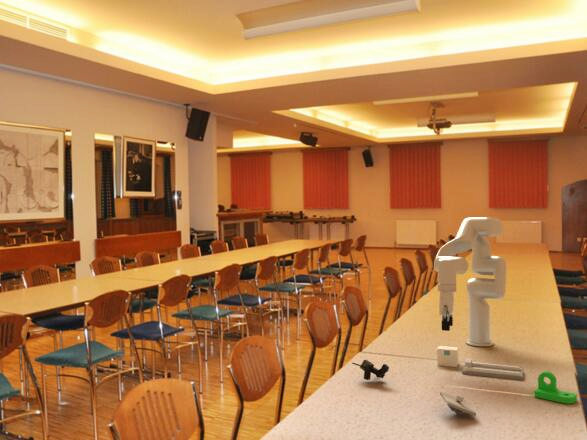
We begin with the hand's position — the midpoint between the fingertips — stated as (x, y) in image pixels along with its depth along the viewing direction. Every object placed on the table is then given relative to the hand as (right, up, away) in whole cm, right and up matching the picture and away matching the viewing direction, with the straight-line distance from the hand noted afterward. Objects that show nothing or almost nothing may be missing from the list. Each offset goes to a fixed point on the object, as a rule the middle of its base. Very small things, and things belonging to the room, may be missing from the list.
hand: (447, 328), depth 220 cm
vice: (-31, -14, -23) cm, 41 cm away
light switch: (-14, -16, -46) cm, 51 cm away
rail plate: (+14, -16, -12) cm, 24 cm away
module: (0, -16, +1) cm, 16 cm away
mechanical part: (+26, -16, -40) cm, 50 cm away
